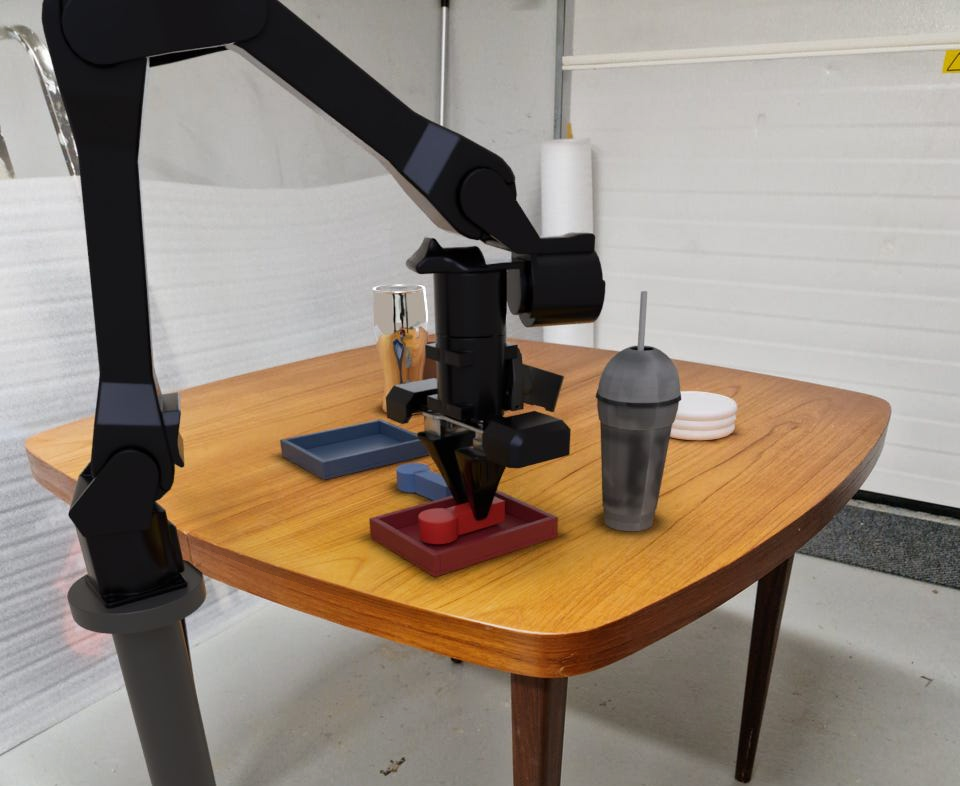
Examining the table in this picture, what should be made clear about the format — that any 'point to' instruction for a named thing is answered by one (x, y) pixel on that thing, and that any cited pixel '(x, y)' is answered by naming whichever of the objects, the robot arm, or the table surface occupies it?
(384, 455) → the blue tray
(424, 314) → the beer glass
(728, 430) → the white stacked discs
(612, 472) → the beverage cup
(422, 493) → the blue spoon
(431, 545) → the red tray
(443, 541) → the red spoon
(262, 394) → the table surface
